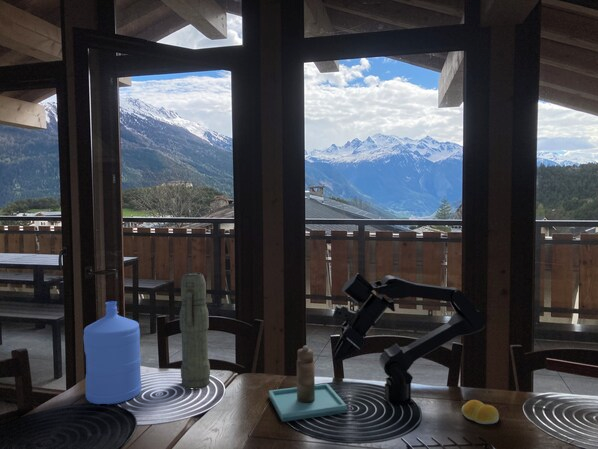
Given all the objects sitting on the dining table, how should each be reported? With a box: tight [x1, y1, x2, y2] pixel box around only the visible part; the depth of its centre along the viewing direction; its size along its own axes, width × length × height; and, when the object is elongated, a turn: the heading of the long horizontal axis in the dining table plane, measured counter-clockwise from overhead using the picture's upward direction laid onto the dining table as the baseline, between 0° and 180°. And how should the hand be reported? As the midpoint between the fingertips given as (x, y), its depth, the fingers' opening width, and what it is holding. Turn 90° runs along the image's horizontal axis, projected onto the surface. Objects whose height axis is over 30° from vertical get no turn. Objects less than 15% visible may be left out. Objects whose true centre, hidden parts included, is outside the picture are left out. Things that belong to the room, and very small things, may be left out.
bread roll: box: [461, 399, 500, 425], centre depth 125 cm, size 8×9×4 cm
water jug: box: [82, 300, 142, 405], centre depth 141 cm, size 16×16×28 cm
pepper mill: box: [296, 345, 316, 403], centre depth 134 cm, size 5×5×15 cm
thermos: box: [179, 272, 211, 390], centre depth 149 cm, size 9×12×35 cm
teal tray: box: [268, 383, 348, 423], centre depth 133 cm, size 18×16×2 cm
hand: (334, 356), depth 134 cm, fingers open, 9 cm apart
